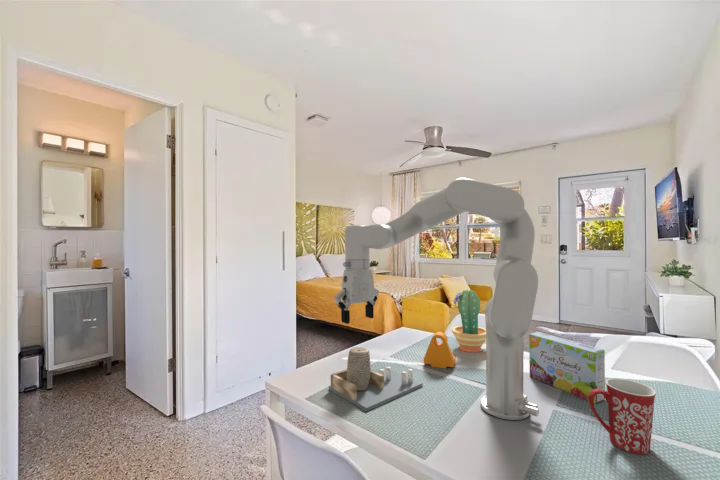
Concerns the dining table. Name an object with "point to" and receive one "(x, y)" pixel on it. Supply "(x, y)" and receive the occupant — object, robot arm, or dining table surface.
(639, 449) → the mug
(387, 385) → the board
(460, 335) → the potted cactus
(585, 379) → the snack box
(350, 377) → the carving
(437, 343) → the bracket
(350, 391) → the end holder
